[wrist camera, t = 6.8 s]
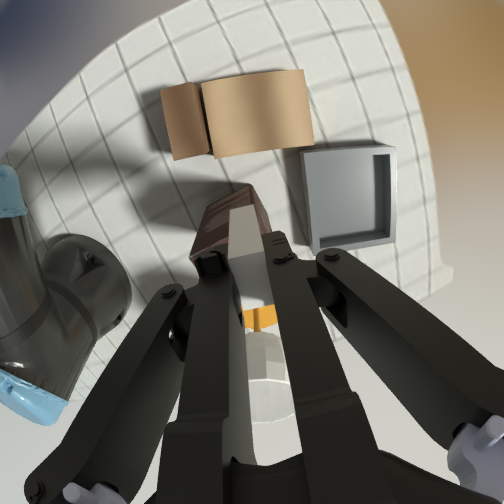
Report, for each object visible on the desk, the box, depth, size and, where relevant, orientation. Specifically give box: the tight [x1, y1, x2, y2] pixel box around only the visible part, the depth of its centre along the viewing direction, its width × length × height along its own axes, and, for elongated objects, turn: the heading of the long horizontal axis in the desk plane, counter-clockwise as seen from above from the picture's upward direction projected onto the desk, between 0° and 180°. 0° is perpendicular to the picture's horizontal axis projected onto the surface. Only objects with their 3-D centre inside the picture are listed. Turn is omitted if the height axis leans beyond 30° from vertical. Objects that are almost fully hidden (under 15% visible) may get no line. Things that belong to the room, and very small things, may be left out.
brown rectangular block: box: [160, 82, 212, 161], centre depth 24 cm, size 3×7×5 cm, turn 9°
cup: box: [241, 304, 295, 424], centre depth 29 cm, size 9×9×16 cm
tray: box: [299, 145, 397, 256], centre depth 29 cm, size 11×12×2 cm
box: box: [189, 184, 272, 267], centre depth 26 cm, size 6×4×12 cm
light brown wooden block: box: [201, 69, 315, 159], centre depth 25 cm, size 10×8×3 cm
